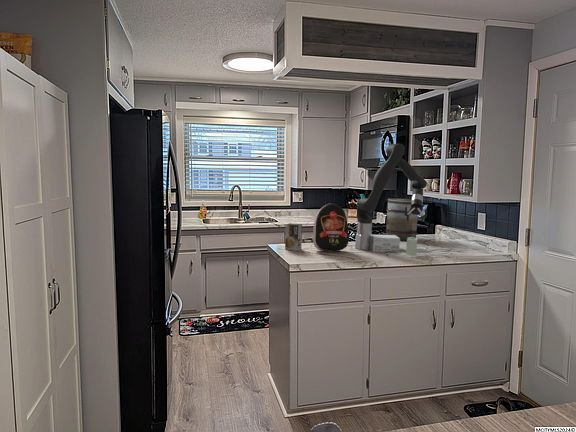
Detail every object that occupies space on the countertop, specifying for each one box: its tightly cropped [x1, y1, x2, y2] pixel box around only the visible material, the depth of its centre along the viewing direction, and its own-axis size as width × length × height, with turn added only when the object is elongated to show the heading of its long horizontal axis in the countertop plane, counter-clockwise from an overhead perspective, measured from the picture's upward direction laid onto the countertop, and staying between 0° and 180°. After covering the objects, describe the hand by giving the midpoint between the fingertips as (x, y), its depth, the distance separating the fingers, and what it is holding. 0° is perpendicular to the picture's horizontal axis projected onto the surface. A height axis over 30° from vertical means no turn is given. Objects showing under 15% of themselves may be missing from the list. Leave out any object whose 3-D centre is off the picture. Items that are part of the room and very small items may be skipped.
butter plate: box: [396, 251, 426, 259], centre depth 265 cm, size 12×12×4 cm
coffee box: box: [284, 222, 303, 251], centre depth 270 cm, size 9×6×16 cm
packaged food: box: [312, 202, 350, 252], centre depth 268 cm, size 22×20×30 cm
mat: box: [417, 248, 432, 254], centre depth 278 cm, size 12×12×1 cm
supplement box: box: [370, 234, 401, 253], centre depth 280 cm, size 17×13×9 cm
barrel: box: [385, 198, 419, 242], centre depth 327 cm, size 22×22×30 cm
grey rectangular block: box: [405, 237, 419, 257], centre depth 265 cm, size 9×6×10 cm, turn 162°
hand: (414, 220), depth 276 cm, fingers open, 8 cm apart
